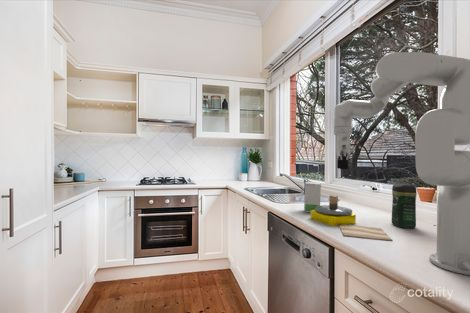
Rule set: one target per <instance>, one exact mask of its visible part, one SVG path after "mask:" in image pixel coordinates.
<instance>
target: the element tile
mask: <svg viewBox="0 0 470 313" xmlns="http://www.w3.org/2000/svg"><path fill="white" fill-rule="evenodd" d="M356 218H357V217H356V214H355V213H353V212H352V214H351V215H329V214H323V213H320V212H317V211H316V210H311V212H310V220H313V221H316V222H319V223H321V224H324V225H328V226H331V227H332V226H334V227H336V226H338V227H339V224H341V225H353V224H356V221H357V220H356Z"/></svg>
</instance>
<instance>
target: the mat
mask: <svg viewBox="0 0 470 313" xmlns="http://www.w3.org/2000/svg"><path fill="white" fill-rule="evenodd" d="M338 227H339V228H340V231H341V234H342V235H343V237H349V238H358V239H359V238H360V239H369V240H380V241H388V242H390V241H391V242H393V239H392V238H391V236H389V234H387V233H386V232H385V231H384V229H382V227H373V226H372V227H371V226H361V225H360V226H359V225H353V224H347V225H341V224H339V225H338Z"/></svg>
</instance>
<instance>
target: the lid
mask: <svg viewBox="0 0 470 313" xmlns="http://www.w3.org/2000/svg"><path fill="white" fill-rule="evenodd" d="M338 200H339V196H338V195H335V194H334V195H333V194H331V195H329V202H328V203H329V204H328V205H325V204H324V205H320V206H316V207H315V210H316V211H317V212H320V213H323V214H329V215H351V214H352V213H353V210H352V209H351V208H348V207H344V206H338V204H339V201H338Z"/></svg>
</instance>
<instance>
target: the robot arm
mask: <svg viewBox="0 0 470 313" xmlns="http://www.w3.org/2000/svg"><path fill="white" fill-rule="evenodd" d="M375 73H376V76H377V77H376V78H374V79H373V80H372V81H371V84H370V90H371V92H372V94H373V95H374V97H372V98H371V99H369V100H361V99H360V100H359V99H347V100H345V101H344V102H342V103H338V104H336V105H335V106H334V108H333V117H334V118H333V135H334V136H336V141H335V142H336V143H335V144H336V156H337V160H336V161H337V162H336V163H337V164H336V166H337V169H339V170H348V168H349V160H348V158H349V156H351V135H352V134H353V132H352V130H353V125H352V124H353V123H352V122H353V119H366V120H367V119H370V118H372V117H374V116H376V115H377V114H379V113H380V112H382V111H383V110H384V109H385V108H386V107H387V105H388V103H389V100H390V97H391V96H393V95H394V94H395V93H398V92H399V91H400V90H402V89H403V88H404V87H405V86H407V85H408V84H414V85H415V84H417V85H422V86H423V85H425V86H433V87H443V90H442V93H441V96H440V99H439V101H440V102H439V103H440V108H436V109H431V110H428V111H426V112H425V113H424V114H423V115H422V116H421V117H420V118H419V119H418V122H417V124H416V127H415V136H414V137H415V142H414V143H415V145H414V146H415V153H414V154H415V155H414V156H415V158H414V159H415V170H416V173H417V175H418V177H419V179H420V180H421V181H422V182H424V183H425V184H428V185H429V186H438V187H440V186H441V188H440V190H439V193H438V196H437V207H436V253H432V254H430V255H429V261H430V263H432V264H433V265H435V266H437V267H439V268H441V269H444V270H447V271H449V272H454V273H457V274H461V275H466V276H470V150H469V151H468V150H461V149H460V150H458V149H455V146H469V145H470V59H469V58H464V57H457V56H450V55H446V54H445V55H443V54H436V53H431V52H418V51H415V52H413V51H411V52H403V51H402V52H401V51H400V52H399V51H398V52H397V51H396V52H395V51H393V52H389V53H386V54H385V55H384V56H382V57H381V58H380V59H379V60H378V62H377V63H376V66H375Z"/></svg>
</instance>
